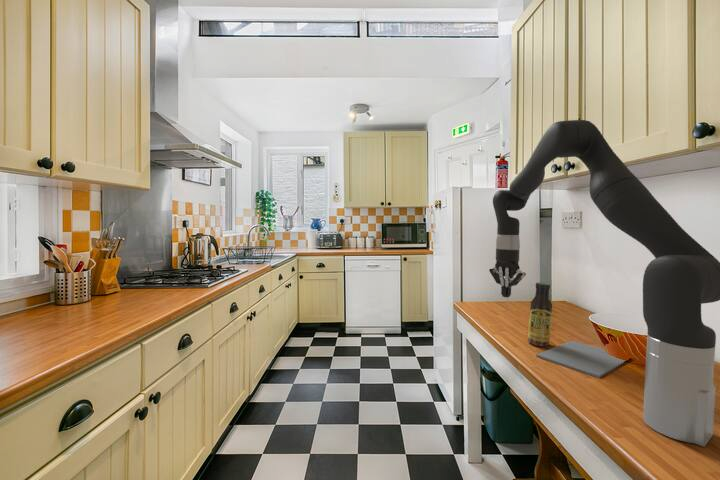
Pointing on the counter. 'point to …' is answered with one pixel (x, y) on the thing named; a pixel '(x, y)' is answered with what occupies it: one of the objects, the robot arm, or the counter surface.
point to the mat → (582, 358)
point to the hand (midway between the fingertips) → (506, 296)
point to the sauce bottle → (540, 316)
